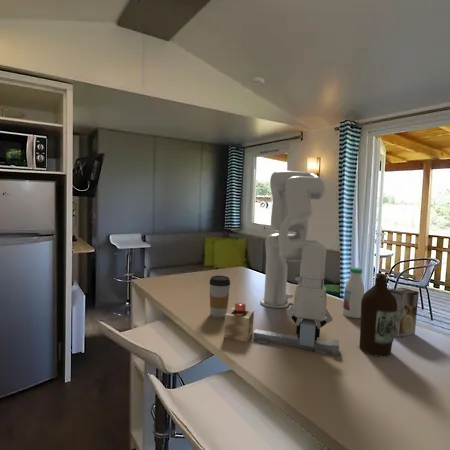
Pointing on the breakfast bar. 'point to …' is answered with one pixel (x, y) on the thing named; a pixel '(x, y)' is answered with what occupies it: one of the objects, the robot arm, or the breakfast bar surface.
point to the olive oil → (378, 318)
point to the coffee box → (405, 311)
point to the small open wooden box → (238, 325)
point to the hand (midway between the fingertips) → (307, 337)
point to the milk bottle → (353, 294)
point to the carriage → (307, 332)
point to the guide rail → (296, 342)
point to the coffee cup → (219, 295)
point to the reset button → (240, 308)
